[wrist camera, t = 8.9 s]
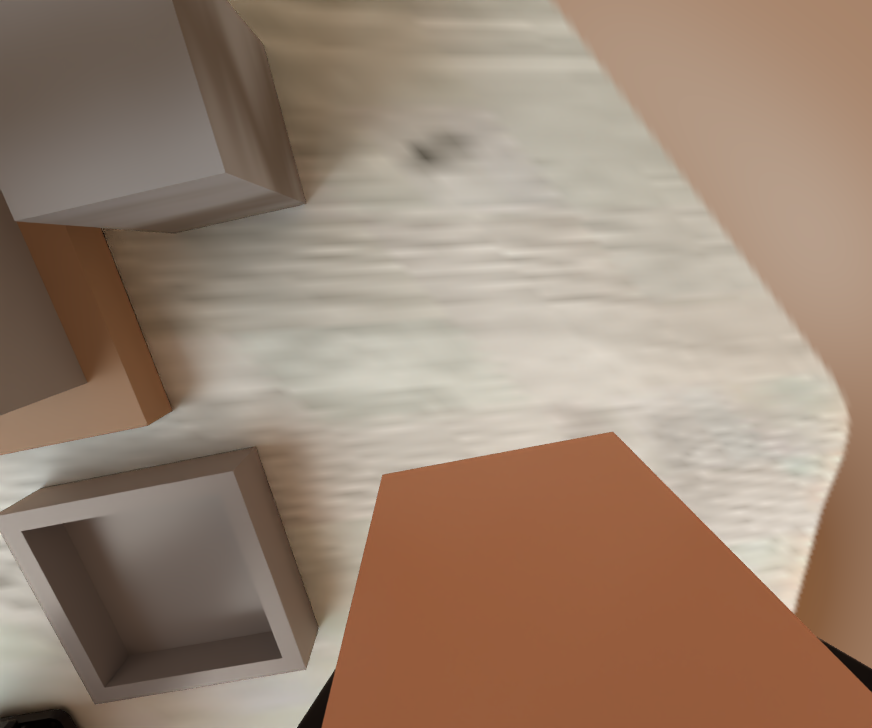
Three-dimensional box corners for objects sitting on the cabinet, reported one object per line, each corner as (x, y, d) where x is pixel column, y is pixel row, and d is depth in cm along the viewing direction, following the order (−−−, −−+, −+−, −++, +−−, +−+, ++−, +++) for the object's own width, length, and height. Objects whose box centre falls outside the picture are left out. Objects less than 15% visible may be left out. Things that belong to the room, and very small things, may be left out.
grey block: (306, 203, 15) (225, 172, 9) (174, 233, 15) (14, 221, 9) (264, 45, 14) (139, -106, 8) (120, 80, 14) (-101, -42, 8)
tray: (318, 628, 20) (306, 669, 18) (127, 661, 20) (95, 704, 18) (255, 446, 17) (233, 471, 15) (40, 488, 18) (-9, 517, 16)
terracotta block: (632, 619, 10) (901, 1118, 4) (429, 652, 10) (422, 1165, 5) (612, 431, 9) (954, 775, 3) (382, 474, 9) (287, 868, 3)
